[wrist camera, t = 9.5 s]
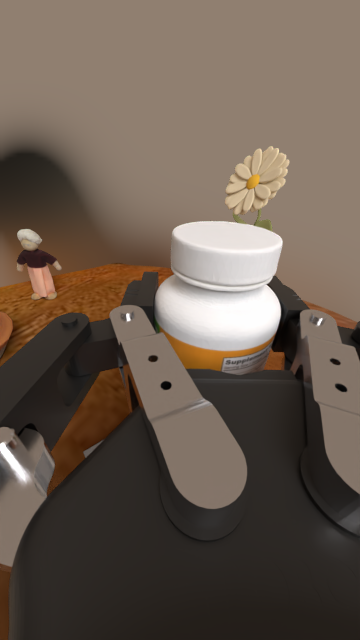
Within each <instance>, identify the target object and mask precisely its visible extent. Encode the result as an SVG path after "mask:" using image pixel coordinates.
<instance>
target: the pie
mask: <svg viewBox="0 0 360 640" xmlns="http://www.w3.org/2000/svg"><path fill="white" fill-rule="evenodd" d="M12 330H13V323H12V320H11V319H10V317H9V316H8V315H7V314H6V313H3V312H0V359H1V357H2V355H3V353H4V350H5V347H6V345H7V342H8V340H9V338H10V335H11V333H12Z"/></svg>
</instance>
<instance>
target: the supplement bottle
mask: <svg viewBox="0 0 360 640" xmlns="http://www.w3.org/2000/svg"><path fill="white" fill-rule="evenodd" d="M282 243H283V242H282V239H281V237H280V236H279V235H277V234H275V233H274V232H272V231H269V230H267V229H264V228H260V227H257V226H252V225H248V224H241V223H233V222H219V221H203V222H193V223H187V224H183V225H180V226H178V227H176V228H175V229H174V230H173V232H172V242H171V269H172V271H173V273H174V275H172V276H170V277H169V278H167V279H166V280H165V281H164V282H163V283H162V284H161V285H160V287H159V288H158V290H157V292H156V295H155V299H154V325H155V332H156V333H160V332H163V333H164V334H165V336H166V338H167V339H168V341H169V343H170V344H171V346H172V348H173V349H174V351H175V353H176V354H177V356H178V358H179V359H180V361H181V362H182V364H183V366H184V367H185V369H212V370H216V371H221V372H226V373H231V374H236V375H243V374H248V373H253V372H257V371H262V370H263V369H264V366H265V363H266V361H267V358H268V355H269V352H270V349H271V346H272V343H273V340H274V337H275V334H276V332H277V329H278V325H279V321H280V316H281V308H280V303H279V300H278V298H277V296H276V295H275V293H274V292H273V291H272V290H271V288H270V287H269V286H267V285H266V284H268V283H269V282H270V281H271V280H272V278H273V275H274V274H275V273H276V269H277V264H278V260H279V256H280V252H281V249H282Z"/></svg>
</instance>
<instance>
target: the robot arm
mask: <svg viewBox="0 0 360 640" xmlns="http://www.w3.org/2000/svg"><path fill="white" fill-rule="evenodd" d="M266 285H267V286H269V287H270V288H271V290H272V291H273V292H274V293H275V295H276V296H277V298H278V300H279V303H280V308H281V316H280V321H279V325H278V329H277V332H276V334H275V337H274V340H273V343H272V346H271V348H272V350H273V352H284V356H283V358H282V367H281V370H262V371H257V372H253V373H248V374H243V375H236V374H231V373H226V372H221V371H216V370H212V369H185V367H184V366H183V364H182V362H181V361H180V359H179V358H178V356H177V354H176V353H175V351H174V349H173V348H172V346H171V344H170V343H169V341H168V339H167V338H166V336H165V334H164V333H163V332H160V333H156V332H155V325H154V299H155V295H156V292H157V290H158V272H144V274H143V277H142V281H135V280H134V281H133V282H131V283H130V284H129V285H128V287H127V290H126V292H125V295H124V298H123V300H122V303H121V306H119V307H117V308H115V309H113V310H112V311H111V312H110V318H108V319H105V320H101V321H95V322H89V318H88V316H86V315H85V314H82V313H68V314H64V315H61V316H59V317H57V318H55V319H54V320H53V321H52V322H50V323H49V324H48V325H47V326H46V327H45V328H44V329H43V330H41V331H40V332H39V333H38V334H37V335H36V336H35V337H34V338H32V339H31V340H30V341H29V342H28V343H27V344H26V345H25V346H23V347H22V348H21V349H20V350H19V351H18V352H17V353H16V354H14V355H13V356H12V357H11V358H10V359H9V360H8V361H7V362H5V363H4V364H3V365H2V366H1V367H0V570H4V571H7V572H10V573H11V575H10V582H9V597H8V599H9V634H8V640H360V321H359V322H358V323H357V325H356V327H355V329H349V328H344V327H339V326H337V324H336V321H335V320H334V318H332V317H331V316H330V315H328V314H326V313H324V312H321V311H317V310H310V309H309V308H308V306H307V305H306V304H305V303H304V302H303V301H302V300H301V299H300V298H299V296H297V294H296V293H295V292H294V291H293V290H292V289H290V288H289V287H287V286H285V285H283V284H282V283H281V281H280V280H279V279H278V278H277V277H276V276H273V278H272V280H271V281H270V282H269V283H268V284H266ZM113 368H118V369H119V373H120V376H121V380H122V383H123V386H124V390H125V393H126V397H127V401H128V406H129V410H130V414H129V415H128V416H127V417H126V418H125V419H124V420H123V421H122V422H121V423H120V424H119V425H118V426H117V427H116V428H115V429H114V430H113V431H112V432H111V433H110V434H109V435H108V436H107V437H106V438H105V439H104V440H103V441H102V442H101V443H100V444H99V445H98V446H97V447H96V448H95V449H94V450H93V451H92V452H91V453H90V454H89V455H88V456H87V457H86V458H85V459H84V460H83V461H82V462H81V463H80V464H79V465H78V466H77V467H76V468H75V469H74V470H73V471H72V472H71V473H70V474H69V475H68V476H67V477H66V478H65V479H64V480H63V481H62V482H61V483H60V484H59V485H58V486H57V487H56V488H55V489H54V490H53V491H52V492H51V493H50V494H49V495H48V496H47V488H48V484H49V482H50V479H51V477H52V475H53V472H54V467H55V462H54V458H53V456H52V454H51V451H52V449H53V447H54V446H55V444H56V443H57V441H58V439H59V438H60V436H61V435H62V433H63V431H64V430H65V428H66V426H67V425H68V423H69V422H70V420H71V418H72V417H73V415H74V414H75V412H76V410H77V409H78V407H79V406H80V404H81V402H82V401H83V399H84V398H85V396H86V394H87V393H88V391H89V390H90V388H91V386H92V385H93V383H94V382H95V380H96V378H97V377H98V375H99V373H100V371H105V370H109V369H113Z"/></svg>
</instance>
